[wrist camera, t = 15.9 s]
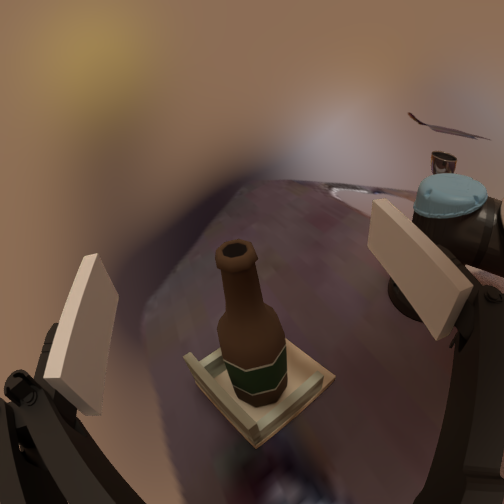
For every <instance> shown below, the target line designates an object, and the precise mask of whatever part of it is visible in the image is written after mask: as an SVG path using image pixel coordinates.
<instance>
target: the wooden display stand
mask: <svg viewBox="0 0 504 504" xmlns="http://www.w3.org/2000/svg"><path fill="white" fill-rule="evenodd" d="M285 340H286V351H287V377H288V382H287V387H286V389H285V390H284V392H283V393H282V395H281V396H280V398H279V399H278V401H277V402H276V403H272V404H268V405H264V406H260V407H254V406H252V405H250V404H248V403H246V402H244V401H242V400H240V399H238V398H237V396H236V394H235V391H234V388H233V386H232V383H231V380H230V377H229V375H228V372H227V369H226V366H225V363H224V361H223V357H222V352H221V347H220V348H219V349H217V350H216V351H214V352H213V353H211V354H210V355H208V356H207V357H206V358H204V359H203V360H201V361H200V362H199V361H198V360H197V359H196V358H195V357H194V356H193V354H192V353H191V352H189V353H188V354H186V355H185V356H183V358H184V360H185V362H186V364H187V366H188V367H189V369H190V371H191V373H192V375H193V377H194V379H195V380H196V384H197V386H198V387H199V388H200V389H201V390H202V392H203V393H204V394H205V395H206V396H207V397H208V399H209V400H210V401H211V402H212V403H213V404H214V405H215V406H216V408H217V409H218V410H219V411H220V412H221V413H222V414H223V415H224V416H225V418H226V419H227V420H228V421H229V422H230V423H231V424H232V425H233V426H234V427H235V428H236V429H237V430H238V431H239V432H240V433H241V435H242V436H243V437H244V438H245V439H246V440H247V441H248V442H249V443H250V444H251V445H252V446H253V447H254V448H255V449H257V448H258V447H260V446H261V445H262V444H263V443H265V442H266V441H267V440H268V439H270V438H271V437H272V436H273V435H275V434H276V433H277V432H278V431H280V430H281V429H282V428H283V427H284V426H285V425H287V424H288V423H289V422H290V421H291V420H292V419H294V418H295V417H296V416H297V415H298V414H299V413H300V412H302V411H303V410H304V409H305V408H306V407H307V406H308V405H309V404H310V403H311V402H313V401H314V400H315V399H316V398H317V397H318V396H319V395H320V394H321V393H322V392H323V391H324V390H325V389H326V388H327V387H328V386H329V385H330V384H331V383H332V382H333V381H334V380H335V377H336V376H335V375H333V374H332V373H331V372H329V371H328V370H327V369H325V368H324V367H323V366H321V365H320V364H319V363H317V362H316V361H315V360H313V359H312V358H311V357H309V356H308V355H307V354H305V353H304V352H303V351H301V350H300V349H299V348H297V347H296V346H295V345H294V344H292V343H291V342H290V341H288V340H287V339H286V338H285Z"/></svg>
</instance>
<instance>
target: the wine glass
mask: <svg viewBox="0 0 504 504" xmlns="http://www.w3.org/2000/svg"><path fill="white" fill-rule="evenodd" d="M456 162H457V158H456V157H455V156H453V155H451V154H449V153H446V152H442V151H433V152H432V155H431V170H432V173H433V175H435V174H440V173H452V174H454V171H455V168H456Z"/></svg>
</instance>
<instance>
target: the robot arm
mask: <svg viewBox="0 0 504 504" xmlns="http://www.w3.org/2000/svg"><path fill="white" fill-rule="evenodd" d="M413 208H414V214H413V220H412V222H411V221H410V220H409V219H408V218H407V217H406V216H405V215H404V214H403V213H402V212H401V211H399V210H398V209H397V208H396V207H395V206H394V205H393V204H392V203H390V202H389V201H388V200H387V199H386V198H383V199H378V200H373V202H372V212H371V221H370V229H369V237H368V245H367V247H368V248H369V249H370V251H371V252H372V253H373V254H374V256H375V257H376V258H377V259H378V261H379V262H380V263H381V265H382V266H383V267H384V268H385V270H386V271H387V272H388V274H389V275H390V276H391V277H390V281H389V285H388V292H389V296H390V298H391V300H392V302H393V304H394V305H395V306H396V307H397V308H398V309H399V310H400V311H401V312H402V313H404V314H405V315H407V316H408V317H410V318H412V319H415V320H418V321H421V322H424V324H425V325H426V327H427V328H428V330H429V331H430V333H431V334H432V336H433V337H434V339H435V340H436V341H437V340H439V339H441V338H444V337H446V336H448V335H449V334H450V333H451V331H452V329H453V327H454V325H455V326H456V328H457V329H458V332H457V334H456V335H455V337H454V339H453V341H452V342H451V344H450V347H449V348H452V347H453V345H454V343H455V351H454V360H453V368H452V376H451V382H450V389H449V395H448V400H447V405H446V410H445V415H444V420H443V424H442V429H441V433H440V437H439V441H438V444H437V448H436V452H435V455H434V459H433V462H432V465H431V468H430V471H429V474H428V477H427V480H426V483H425V486H424V488H423V490H422V491H421V492H420V494H419V495H418V496H417V497H416V499H415V500H414V502H413V504H502V501H503V498H504V479H503V478H502V477H501V476H500V466H501V461H502V456H503V450H504V294H502V293H501V292H500V291H499V290H498V289H497V288H495V287H493V286H489V285H485V286H482V285H481V284H480V283H479V281H478V280H477V279H476V278H475V277H474V276H473V275H472V274H471V273H470V271H469V270H468V269H467V268H466V267H465V265H470V266H472V267H475V268H478V269H481V270H484V271H487V272H489V273H492V274H495V275H497V276H500V277H503V278H504V198H503V200H502V201H500V200H497V199H495V198H491V197H488V195H487V190H486V188H485V187H484V185H483V184H482V183H480V182H479V181H476V180H473V178H470V177H467V176H464V175H459V174H452V173H440V174H435V175H431V176H428V177H427V178H425V179H424V180H423V181H422V182H421V183H420V185H419V188H418V192H417V197H416V200H415V202H414V206H413ZM118 299H119V295H118V293H117V291H116V289H115V288H114V286H113V284H112V282H111V280H110V278H109V276H108V274H107V271H106V270H105V267H104V266H103V263H102V261H101V259H100V257H99V255H98V253H97V254H92V255H88V256H84V258H83V261H82V263H81V265H80V268H79V270H78V273H77V275H76V277H75V280H74V283H73V285H72V288H71V290H70V293H69V296H68V298H67V301H66V304H65V307H64V310H63V312H62V315H61V319H60V321H59V323H54V324H53V326H52V327H51V328H50V330H49V331H48V333H47V336H46V338H45V342H44V345H43V348H42V354H41V355H40V359H39V362H38V365H37V369H36V372H35V376H34V379H33V378H32V377H31V376H30V375H29V374H28V373H27V372H26V371H24V370H16V371H14V372H13V373H12V374H11V375H10V376H9V377H8V378H7V380H6V382H5V386H4V394H5V396H7V397H8V398H9V399H10V400H11V401H12V402H9V403H6V402H5V401H4V400H3V399H2V398H0V503H1V504H68V503H69V504H146V503H145V502H144V501H143V500H142V499H141V498H140V497H139V496H138V495H137V493H136V492H135V491H134V490H133V489H132V488H131V487H130V485H129V484H128V483H127V482H126V481H125V480H124V479H123V477H122V476H121V475H120V474H119V473H118V471H117V470H116V469H115V468H114V466H113V465H112V464H111V463H110V462H109V460H108V459H107V458H106V456H105V455H104V454H103V452H102V451H101V450H100V448H99V447H98V445H97V444H96V443H95V441H94V440H93V439H92V437H91V436H90V434H89V433H88V431H87V430H86V428H85V427H84V425H83V424H82V422H81V421H80V420H79V419H78V418H77V417H76V413H77V409H78V410H79V411H80V412H81V413H83V414H84V415H86V416H99V415H101V413H102V402H103V392H104V383H105V375H106V368H107V360H108V353H109V347H110V341H111V335H112V330H113V324H114V319H115V314H116V309H117V303H118ZM19 445H20V448H19ZM20 449H21V451H20ZM67 501H68V502H67Z"/></svg>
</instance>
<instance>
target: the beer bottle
mask: <svg viewBox="0 0 504 504" xmlns="http://www.w3.org/2000/svg"><path fill="white" fill-rule="evenodd" d="M215 260H216V265H217V268H218V269H221V275H222V281H223V287H224V294H225V300H226V312H225V313H224V315H223V316H222V317H221V319H220V320H219V323H218V327H217V332H218V337H219V342H220V347H221V352H222V357H223V361H224V363H225V366H226V369H227V372H228V375H229V377H230V380H231V383H232V386H233V388H234V391H235V394H236V396H237V398H238V399H240V400H242V401H244V402H246V403H248V404H250V405H252V406H254V407H260V406H264V405H268V404H272V403H276V402H277V401H278V399H279V398H280V396H281V395H282V393H283V392H284V390H285V389H286V387H287V382H288V377H287V351H286V340H285V334H284V331H283V329H282V326H281V324H280V321H279V318H278V316H277V314H276V312H275V311H274V310H273V308H272V307H270V306H268V305H267V304H265V303H264V302H263V298H262V293H261V289H260V284H259V279H258V275H257V270H256V265H255V262H256V261H257V260H258V257H257V255H256V252H255V250H254V247H253V245H252V243H251V242H248V241H244V240H241V239H237V240H232V241H228V242H224V243H223V244H222V245H221V246H220V247H219V248H218V249H217V250H216V255H215Z"/></svg>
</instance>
